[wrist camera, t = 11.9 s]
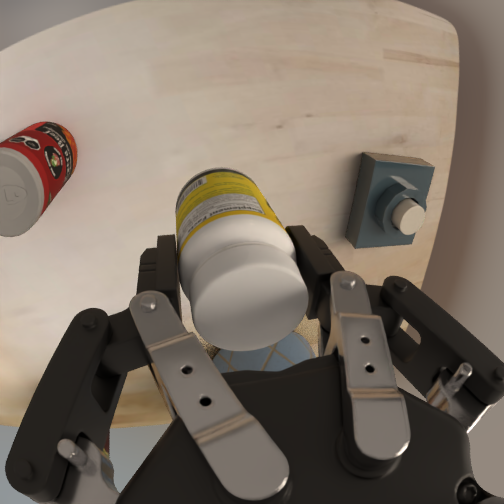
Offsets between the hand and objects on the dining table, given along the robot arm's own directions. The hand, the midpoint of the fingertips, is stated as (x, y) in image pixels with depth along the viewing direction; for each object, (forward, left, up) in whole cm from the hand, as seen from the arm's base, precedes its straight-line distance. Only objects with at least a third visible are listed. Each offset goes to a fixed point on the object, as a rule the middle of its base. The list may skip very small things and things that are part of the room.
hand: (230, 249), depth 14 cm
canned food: (0, -17, -21) cm, 27 cm away
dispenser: (+7, +24, -21) cm, 33 cm away
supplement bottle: (0, 0, -5) cm, 5 cm away
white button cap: (+7, +24, -16) cm, 30 cm away
